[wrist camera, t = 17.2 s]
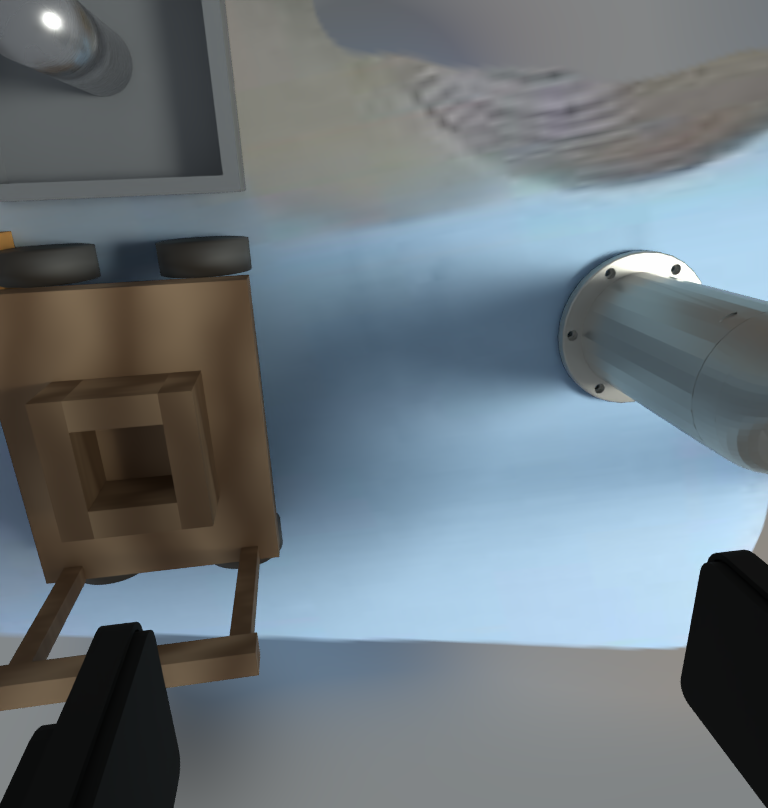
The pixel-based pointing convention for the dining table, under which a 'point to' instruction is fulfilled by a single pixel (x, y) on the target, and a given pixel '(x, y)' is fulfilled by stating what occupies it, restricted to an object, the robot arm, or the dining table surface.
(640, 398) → the robot arm
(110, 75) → the pin
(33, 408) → the trolley
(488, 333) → the dining table surface
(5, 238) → the orange block
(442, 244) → the dining table surface
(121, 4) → the tray
